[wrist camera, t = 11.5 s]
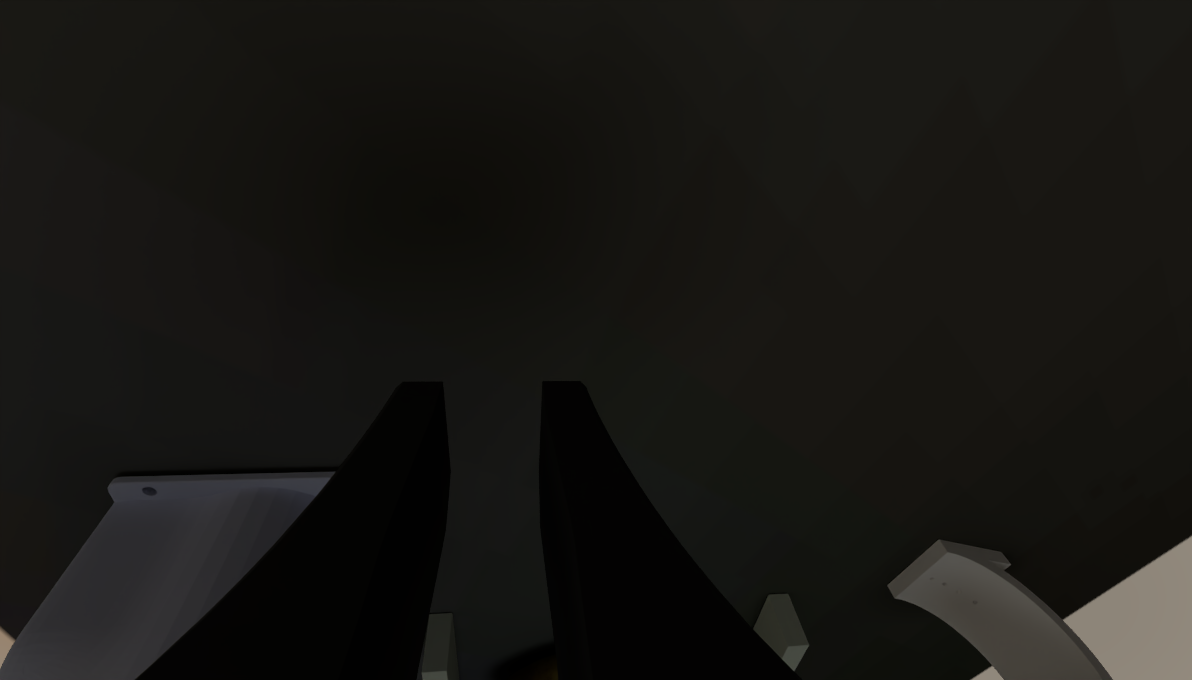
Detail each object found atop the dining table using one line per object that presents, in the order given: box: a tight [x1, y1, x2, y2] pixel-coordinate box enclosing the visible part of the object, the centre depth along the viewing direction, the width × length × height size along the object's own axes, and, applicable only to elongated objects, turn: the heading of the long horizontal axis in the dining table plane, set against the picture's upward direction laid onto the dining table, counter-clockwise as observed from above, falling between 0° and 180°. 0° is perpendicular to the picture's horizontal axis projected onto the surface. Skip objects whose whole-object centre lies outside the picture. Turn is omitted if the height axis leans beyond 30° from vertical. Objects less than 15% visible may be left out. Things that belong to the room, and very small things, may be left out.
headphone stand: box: [887, 539, 1113, 680], centre depth 29 cm, size 5×6×12 cm
